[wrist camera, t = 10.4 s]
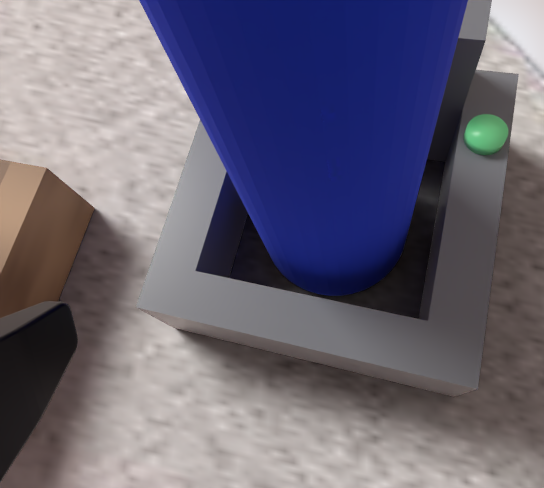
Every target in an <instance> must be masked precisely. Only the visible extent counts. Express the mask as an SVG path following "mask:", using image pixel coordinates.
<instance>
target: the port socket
mask: <svg viewBox="0 0 544 488" xmlns="http://www.w3.org/2000/svg"><path fill="white" fill-rule="evenodd" d="M491 2H492V0H468V2H467V6H466V10H465V14H464V18H463V22H462V25H461V29H460V33H459V37H458V41H457V45H456V49H455V53H454V56H453V60H452V64H451V68H450V72H449V76H448V80H447V84H446V87H445V91H444V95H443V99H442V103H441V107H440V111H439V114H438V118H437V122H436V126H435V130H434V134H433V138H432V142H431V145H430V149H429V153H428V157H427V159H429V160H436V161H443V162H445V166H444V172H443V178H442V184H441V189H440V195H439V201H438V207H437V213H436V219H435V225H434V231H433V236H432V242H431V248H430V254H429V260H428V266H427V272H426V278H425V283H424V289H423V295H422V301H421V307H420V313H419V319H417V318H412V317H407V316H403V315H398V314H393V313H389V312H384V311H379V310H375V309H370V308H365V307H361V306H356V305H352V304H347V303H342V302H338V301H333V300H328V299H324V298H319V297H314V296H310V295H305V294H300V293H296V292H291V291H286V290H282V289H277V288H273V287H268V286H263V285H259V284H254V283H249V282H245V281H240V280H235V279H231V278H229V277H230V273H231V270H232V266H233V263H234V259H235V256H236V253H237V249H238V246H239V242H240V239H241V235H242V232H243V229H244V225H245V222H246V218H247V215H248V212H247V210H246V208H245V206H244V204H243V202H242V200H241V198H240V196H239V194H238V192H237V191H236V189H235V187H234V185H233V183H232V181H231V179H230V177H229V175H228V173H227V171H226V169H225V167H224V165H223V163H222V161H221V159H220V157H219V155H218V153H217V151H216V149H215V147H214V145H213V144H212V142H211V140H210V138H209V136H208V134H207V132H206V130H205V128H204V126H203V124H202V122H201V120H200V122H199V125H198V128H197V131H196V133H195V136H194V139H193V142H192V145H191V148H190V151H189V154H188V157H187V160H186V163H185V165H184V168H183V171H182V174H181V177H180V180H179V183H178V186H177V189H176V192H175V195H174V197H173V200H172V203H171V206H170V209H169V212H168V215H167V218H166V221H165V224H164V227H163V229H162V232H161V235H160V238H159V241H158V244H157V247H156V250H155V253H154V256H153V259H152V261H151V264H150V267H149V270H148V273H147V276H146V279H145V282H144V285H143V288H142V291H141V293H140V296H139V299H138V302H137V305H136V307H137V308H138V309H140V310H142V311H144V312H146V313H148V314H149V315H151V316H153V317H155V318H157V319H159V320H161V321H162V322H164V323H166V324H168V325H170V326H172V327H173V328H176V329H180V330H184V331H188V332H193V333H197V334H201V335H205V336H209V337H213V338H217V339H221V340H225V341H229V342H233V343H237V344H241V345H245V346H249V347H253V348H258V349H262V350H266V351H270V352H274V353H278V354H282V355H286V356H290V357H294V358H298V359H302V360H306V361H310V362H314V363H318V364H323V365H327V366H331V367H335V368H339V369H343V370H347V371H351V372H355V373H359V374H363V375H367V376H371V377H375V378H379V379H383V380H388V381H392V382H396V383H400V384H404V385H408V386H412V387H416V388H420V389H424V390H428V391H432V392H436V393H440V394H444V395H448V396H453V397H455V396H458V395H461V394H465V393H468V392H471V391H474V390H477V389H478V385H479V377H480V369H481V361H482V354H483V346H484V338H485V330H486V323H487V315H488V307H489V299H490V292H491V284H492V276H493V268H494V261H495V253H496V245H497V237H498V230H499V222H500V214H501V206H502V198H503V191H504V183H505V175H506V167H507V160H508V152H509V144H510V136H511V129H512V121H513V113H514V105H515V98H516V90H517V82H518V74H513V73H503V72H493V71H483V70H476V67H477V64H478V61H479V58H480V55H481V52H482V49H483V46H484V43H485V40H486V34H487V27H488V21H489V14H490V8H491Z"/></svg>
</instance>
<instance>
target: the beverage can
mask: <svg viewBox="0 0 544 488" xmlns="http://www.w3.org/2000/svg"><path fill="white" fill-rule="evenodd" d="M139 1H140V3H141V5H142V6H143V8H144V10H145V12H146V14H147V16H148V18H149V20H150V22H151V24H152V26H153V28H154V30H155V32H156V34H157V36H158V38H159V40H160V42H161V44H162V46H163V48H164V50H165V52H166V53H167V55H168V57H169V59H170V61H171V63H172V65H173V67H174V69H175V71H176V73H177V75H178V77H179V79H180V81H181V83H182V85H183V87H184V89H185V91H186V93H187V95H188V97H189V99H190V100H191V102H192V104H193V106H194V108H195V110H196V112H197V114H198V116H199V118H200V120H201V122H202V124H203V126H204V128H205V130H206V132H207V134H208V136H209V138H210V140H211V142H212V144H213V145H214V147H215V149H216V151H217V153H218V155H219V157H220V159H221V161H222V163H223V165H224V167H225V169H226V171H227V173H228V175H229V177H230V179H231V181H232V183H233V185H234V187H235V189H236V191H237V192H238V194H239V196H240V198H241V200H242V202H243V204H244V206H245V208H246V210H247V212H248V214H249V216H250V218H251V220H252V222H253V224H254V226H255V228H256V230H257V232H258V234H259V236H260V238H261V239H262V241H263V243H264V245H265V247H266V249H267V251H268V253H269V255H270V257H271V259H272V261H273V263H274V265H275V266H276V267H277V269H278V270H279V271H280V272H281V273H282V274H283V275H284V276H285V277H286V278H287V279H288V280H289V281H291V282H292V283H293V284H295V285H296V286H298V287H300V288H302V289H304V290H306V291H309V292H313V293H316V294H320V295H328V296H342V295H348V294H354V293H357V292H360V291H363V290H365V289H367V288H369V287H371V286H373V285H375V284H376V283H378V282H379V281H380V280H382V279H383V278H384V277H385V276H386V275H387V274H388V273H389V272H390V271H391V270H392V269H393V268H394V266H395V265H396V263H397V262H398V260H399V258H400V256H401V254H402V252H403V249H404V246H405V242H406V238H407V235H408V231H409V227H410V223H411V219H412V215H413V211H414V207H415V204H416V200H417V196H418V192H419V188H420V184H421V180H422V176H423V173H424V169H425V165H426V161H427V157H428V153H429V149H430V145H431V142H432V138H433V134H434V130H435V126H436V122H437V118H438V114H439V111H440V107H441V103H442V99H443V95H444V91H445V87H446V84H447V80H448V76H449V72H450V68H451V64H452V60H453V56H454V53H455V49H456V45H457V41H458V37H459V33H460V29H461V25H462V22H463V18H464V14H465V10H466V6H467V2H468V0H139Z"/></svg>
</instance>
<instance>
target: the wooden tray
mask: <svg viewBox="0 0 544 488" xmlns="http://www.w3.org/2000/svg"><path fill="white" fill-rule="evenodd" d="M93 211H94V207H93V206H92V205H90V204H89V203H88V202H87V201H86V200H84V199H83V198H82V197H81V196H80V195H78V194H77V193H76V192H75V191H74V190H72V189H71V188H70V187H69V186H68V185H66V184H65V183H64V182H63V181H62V180H60V179H59V178H58V177H57V176H56V175H55V174H53V173H52V172H51V171H50V170H49V169H47V168H44V167H39V166H33V165H27V164H22V163H16V162H11V161H5V160H0V318H2V317H5V316H7V315H10V314H13V313H15V312H18V311H20V310H23V309H26V308H28V307H31V306H34V305H36V304H39V303H41V302H44V301H58V300H59V297H60V295H61V292H62V290H63V287H64V285H65V282H66V280H67V277H68V275H69V272H70V269H71V267H72V264H73V262H74V259H75V257H76V254H77V252H78V249H79V247H80V244H81V241H82V239H83V236H84V234H85V231H86V229H87V226H88V224H89V221H90V218H91V216H92V213H93Z"/></svg>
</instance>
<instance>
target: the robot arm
mask: <svg viewBox="0 0 544 488" xmlns="http://www.w3.org/2000/svg"><path fill="white" fill-rule="evenodd" d="M77 343H78V339H77V333H76V329H75V325H74V321H73V317H72V312H71V309H70V307H69V305H68V304H67V303H65V302H58V301H44V302H41V303H39V304H36V305H34V306H31V307H28V308H26V309H23V310H20V311H18V312H15V313H13V314H10V315H7V316H5V317H2V318H0V482H1V481H2V479H3V478H4V476H5V474H6V473H7V471H8V470H9V468H10V467H11V465H12V463H13V462H14V460H15V459H16V457H17V456H18V454H19V452H20V451H21V449H22V448H23V446H24V445H25V443H26V441H27V440H28V438H29V437H30V435H31V434H32V432H33V430H34V429H35V427H36V426H37V424H38V422H39V421H40V419H41V417H42V415H43V414H44V412H45V410H46V408H47V406H48V404H49V402H50V400H51V398H52V396H53V394H54V392H55V390H56V388H57V387H58V385H59V383H60V381H61V379H62V377H63V375H64V373H65V371H66V369H67V367H68V365H69V363H70V361H71V359H72V357H73V355H74V353H75V351H76V348H77Z"/></svg>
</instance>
